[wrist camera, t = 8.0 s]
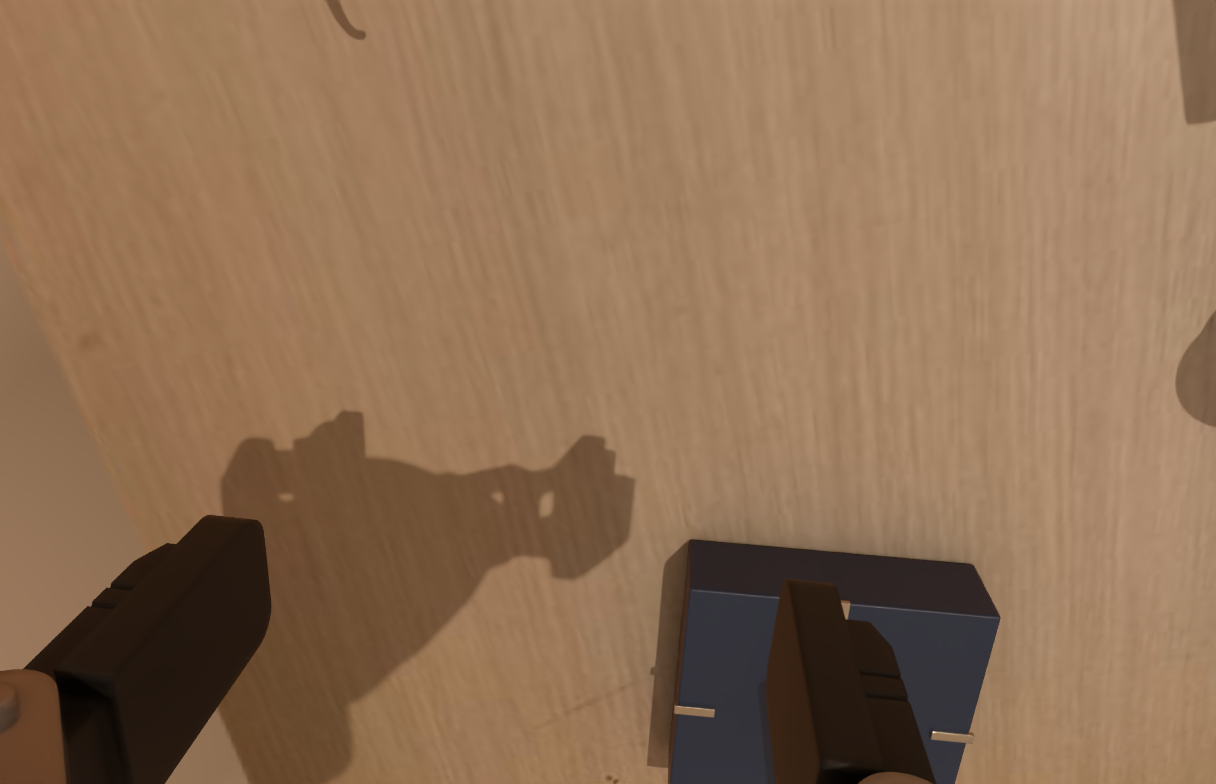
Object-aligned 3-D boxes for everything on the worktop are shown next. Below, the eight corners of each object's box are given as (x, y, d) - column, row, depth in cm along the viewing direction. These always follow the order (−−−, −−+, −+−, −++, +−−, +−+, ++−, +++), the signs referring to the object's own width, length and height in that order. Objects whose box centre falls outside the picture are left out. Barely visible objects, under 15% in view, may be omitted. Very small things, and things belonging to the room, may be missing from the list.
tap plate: (666, 750, 35) (663, 815, 32) (687, 536, 31) (686, 588, 28) (922, 777, 35) (943, 846, 32) (977, 561, 31) (1007, 618, 28)
